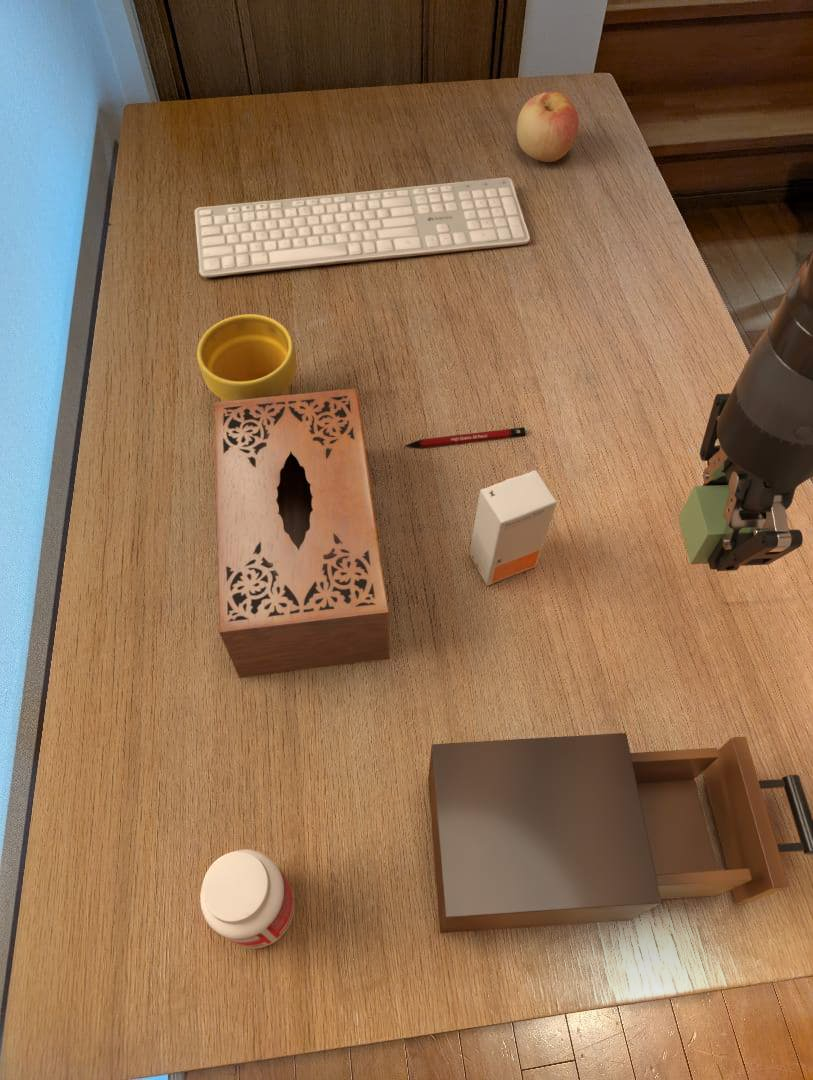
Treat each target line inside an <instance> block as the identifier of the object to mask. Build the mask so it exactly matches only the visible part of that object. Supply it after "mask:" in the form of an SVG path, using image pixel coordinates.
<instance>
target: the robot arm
mask: <svg viewBox="0 0 813 1080" xmlns="http://www.w3.org/2000/svg"><path fill="white" fill-rule="evenodd" d="M710 410H711V411H710V414H709V417H708V421H707V425H706V429H705V431H704V435H703V439H702V442H701V446H700V450H699V457H700V460H701V461H702V462H707V467H705V468H704V469H703V472H702V480H703V484H702V486H713V485H729V487H730V492H729V496H728V499H727V502H726V506H725V509H724V512H723V516H724V518H725V520H726V522H727V524H726V527H725V531H724V534H723V537H722V538H721V539H720V540H719V542H718V544H717V545H716V547H715V549H714V550H713V552H712V553H711V555H710V557H709V558H708V564H707V565H708V567H709V569H710V570H713V571H714V570H716V572H732V571H733V572H734V571H738V570H739V568H740V567H742V566H743V567H746V566H767V565H771V564H772V563H774V562H776V561H777V560H779V559H781V558H783V557H785V556H786V555H788V554H790V553H792V552H794V551H795V550H797V549H799V548H800V547H802V544H803V538H804V537H803V534H802V533H803V532H802V531H801V530H800V529H797V528H796V529H791V528H790V527H789V522H788V517H787V512H786V510H788V509H789V508H790V507H791V505H792V504H793V501H794V500H793V499H794V496H795V493H796V491H797V487H799V486H800V485H802V484H803V483H804V482H806V481H808V480H810V479H811V478H813V250H811V252H810V253H809V254H808V255H807V257H805V259H804V260H803V262H802V264H801V265H800V267H799V268H798V270H797V271H796V273H795V274H794V276H793V279H792V280H791V282H790V284H789V285H788V287H787V289H786V291H785V293H784V295H783V297H782V299H781V302H780V303H779V305H778V307H777V309H776V311H775V313H774V314H773V318H772V319H771V321H770V323H769V325H768V326H767V328H765V330H764V332H763V333H762V335H761V336H760V337H759V338H758V340H757V342H756V343H755V345H754V347H753V348H752V350H751V352H750V353H749V356H748V358H747V360H746V362H745V364H744V366H743V368H742V370H741V372H740V373H739V376H738V378H737V380H736V382H735V384H734V386H733V388H732V390H731V392H727V393H716V395H715V396H714V400H713V403H712V406H711V409H710ZM717 440H718V443H719V445H716V443H717ZM740 508H741V509H743V510H740ZM749 527H751V529H750V532H749V533H739V531H740V529H742V528H749Z"/></svg>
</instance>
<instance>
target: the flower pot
mask: <svg viewBox="0 0 813 1080" xmlns="http://www.w3.org/2000/svg"><path fill="white" fill-rule="evenodd" d="M196 358H197V362H198V366H199V370H200V372H201V375H202V378H203V380H204V383H205V384H206V386H207V388H208V390H209V391H210V392H211V393H213V394H214V395H215V396H217V397H218V398H219V399H220V400H221V402H223V401H233V400H243V399H253V398H263V397H273V396H284V395H290V390H291V383H292V381H293V380H294V376H295V375H296V370H297V357H296V349H295V344H294V341H293V337H292V335H291V334H290V332H289V330H288V329H287V327H285V325H283V324H282V323H281V322H280V321H277V320H276V319H273V318H271V317H269V316H266V315H261V314H255V313H254V314H253V313H245V314H244V313H243V314H238V315H234V316H229V317H227V318H224V319H222V320H220V321H218V322H216V323H215V324H214V325H212V326H211V327H210V328H208V329H207V330H206V332H204V333H203V334H202V336H201V337H200V339H199V342H198V345H197V350H196Z"/></svg>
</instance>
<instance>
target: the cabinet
mask: <svg viewBox="0 0 813 1080" xmlns="http://www.w3.org/2000/svg"><path fill="white" fill-rule="evenodd" d="M629 745H630V744H629V740H628V735H627V733H626V732H617V733H600V734H584V735H568V736H567V735H566V736H551V737H549V736H547V737H536V738H535V737H534V738H517V739H516V738H515V739H498V740H481V741H466V742H464V741H463V742H450V743H449V742H447V743H433V744H431V749H430V758H429V767H428V774H427V775H428V777H427V780H428V781H427V782H428V794H429V806H430V809H429V810H430V819H431V820H430V821H431V834H432V835H431V836H432V847H433V861H434V874H435V888H436V900H437V901H436V902H437V911H438V913H437V914H438V926H439V934H451V933H467V932H479V931H481V932H482V931H496V930H508V929H509V930H510V929H511V930H512V929H524V928H541V927H553V926H554V927H555V926H567V925H583V924H597V923H599V924H601V923H611V922H612V923H613V922H626V921H627V922H628V921H631V920H633V919H635V918H636V917H638V916H641V915H642V914H644V913H645V912H647V911H650V910H651V909H653V908H655V907H657V906H659V905H661V904H662V899H661V898H660V893H659V888H658V883H657V879H656V874H655V869H654V864H653V859H652V855H651V850H650V845H649V840H648V835H647V831H646V826H645V821H644V816H643V811H642V807H641V802H640V797H639V792H638V787H637V783H636V778H635V773H634V768H633V764H632V759H631V754H630V753H631V750H630V749H631V748H630V746H629Z"/></svg>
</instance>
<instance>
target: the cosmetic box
mask: <svg viewBox="0 0 813 1080" xmlns="http://www.w3.org/2000/svg"><path fill="white" fill-rule="evenodd" d="M557 504H558V503H557V500H556V498H555V496H554V495H553V494H552V492H551V490H550V489H549V487H548V486H547V484H546V483H545V481H544V480H543V478H542V475H540V473H539V471H538V470H532V471H528V472H526V473H523V474H520V475H518V476H513V477H510V478H506V479H504V480H502V481H501V482H498V483H495V484H493V485H490V486H487V487H484V488H481V489H480V490H479V494H478V501H477V507H476V512H475V518H474V523H473V531H472V536H471V541H470V542H471V543H470V547H469V558H470V559H471V561H472V562H473V564H474V566H475V567H476V569H477V571H478V573H479V575H480V577H481V578H482V581H483V582H484V584H485V585H486V586H487V587H488V586H491V585H493V584H495V583H497V582H500V581H503V580H505V579H509V578H510V577H512V576H515V575H517V574H521V573H524V572H526V571H529V570H532V569H534V568H536V567H537V566H538V564H539V560H540V557H541V554H542V550H543V548H544V544H545V541H546V538H547V535H548V532H549V529H550V525H551V522H552V519H553V515H554V513H555V511H556V510H555V509H556V506H557Z"/></svg>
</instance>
